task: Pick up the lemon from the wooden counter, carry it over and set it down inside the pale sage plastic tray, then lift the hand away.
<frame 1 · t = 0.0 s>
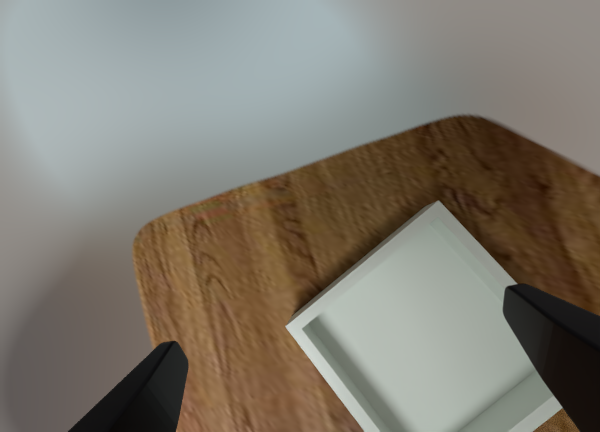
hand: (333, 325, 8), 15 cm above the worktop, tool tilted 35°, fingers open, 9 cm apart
tray: (419, 334, 21), on the worktop
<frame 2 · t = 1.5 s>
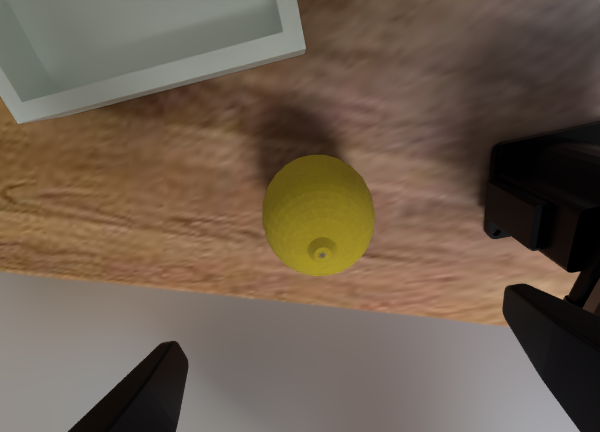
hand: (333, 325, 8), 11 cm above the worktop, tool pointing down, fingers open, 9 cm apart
lemon: (313, 183, 18), on the worktop
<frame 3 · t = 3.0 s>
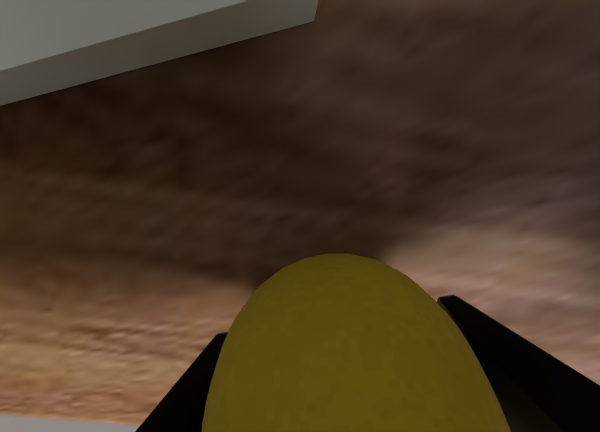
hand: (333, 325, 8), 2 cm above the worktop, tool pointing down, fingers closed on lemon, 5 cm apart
lemon: (326, 274, 10), on the worktop, touching gripper
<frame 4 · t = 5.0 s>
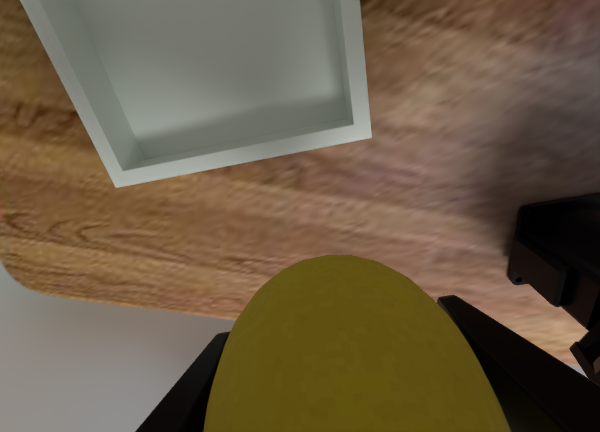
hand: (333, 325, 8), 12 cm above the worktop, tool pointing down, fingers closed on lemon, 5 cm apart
tray: (212, 22, 15), on the worktop
lemon: (327, 275, 10), point 10 cm above the worktop, touching gripper
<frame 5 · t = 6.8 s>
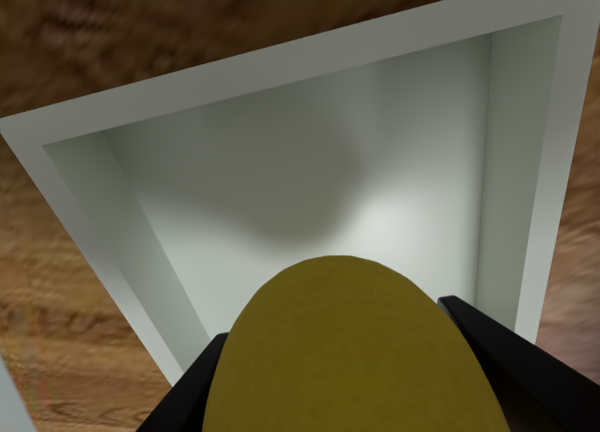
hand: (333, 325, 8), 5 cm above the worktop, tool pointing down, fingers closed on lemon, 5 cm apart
tray: (319, 237, 12), on the worktop
lemon: (326, 276, 10), point 2 cm above the worktop, touching gripper
when the fingers open (4 cm above the worktop, at t = 7.2 s): lemon drops 2 cm, resting on tray.
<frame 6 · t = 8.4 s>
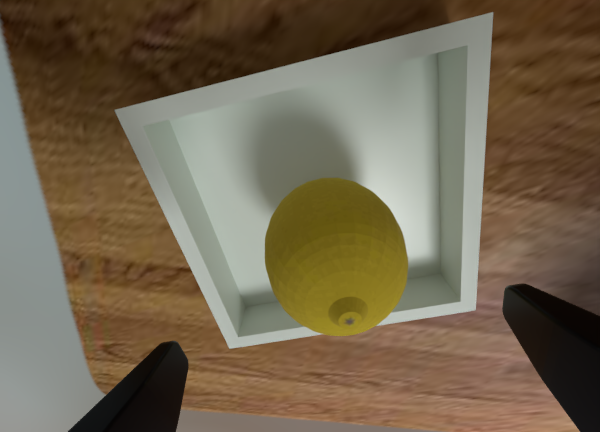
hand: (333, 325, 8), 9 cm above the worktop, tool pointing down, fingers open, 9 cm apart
tray: (321, 201, 16), on the worktop
lemon: (321, 207, 15), resting on tray
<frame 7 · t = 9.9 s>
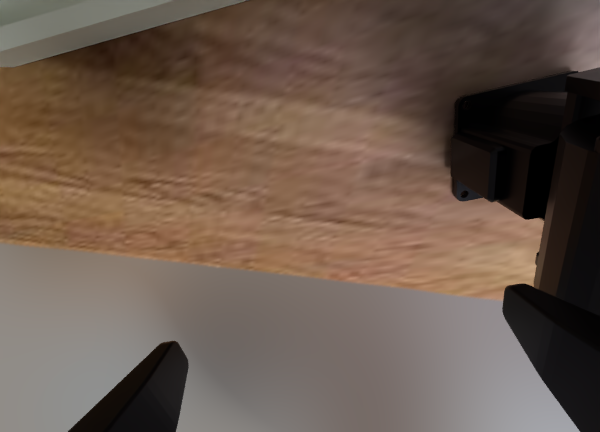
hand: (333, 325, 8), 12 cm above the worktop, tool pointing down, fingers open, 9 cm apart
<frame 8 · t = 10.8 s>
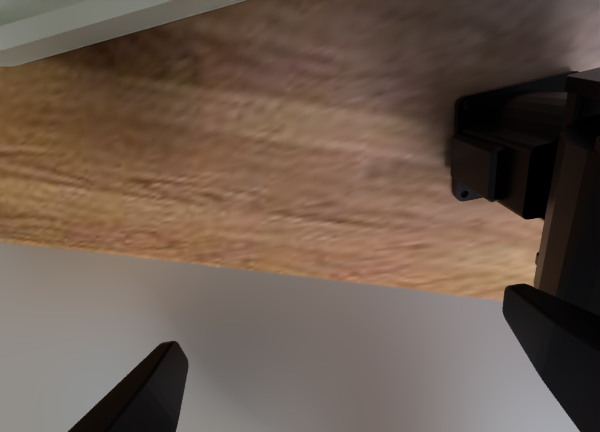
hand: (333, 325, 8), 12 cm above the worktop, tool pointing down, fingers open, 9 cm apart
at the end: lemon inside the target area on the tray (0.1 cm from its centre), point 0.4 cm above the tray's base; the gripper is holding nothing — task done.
